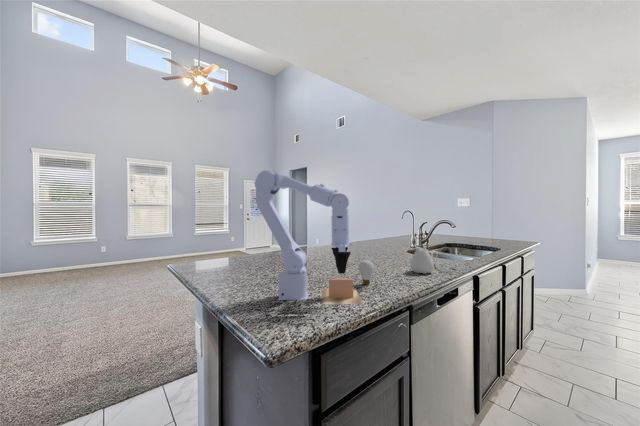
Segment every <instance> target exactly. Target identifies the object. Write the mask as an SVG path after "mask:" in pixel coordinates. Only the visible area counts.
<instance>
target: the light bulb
mask: <svg viewBox="0 0 640 426" xmlns="http://www.w3.org/2000/svg"><path fill="white" fill-rule="evenodd" d="M374 270H375V267H374V263H372V261H370V260H368V259H365V260H362V261H360V262H359V264H358V271H359V273H360V275H361V279H362V285H364V286H370V284H371V277H372V274H373V273H374Z"/></svg>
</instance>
